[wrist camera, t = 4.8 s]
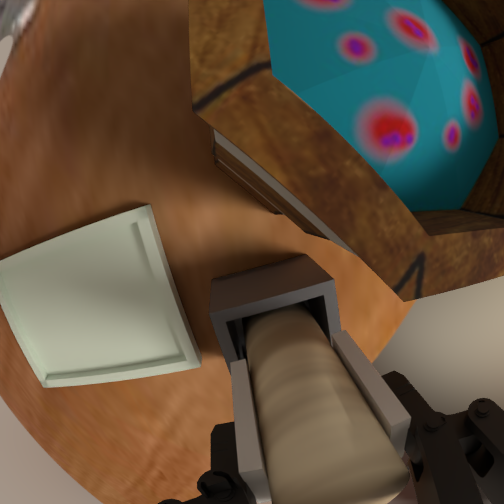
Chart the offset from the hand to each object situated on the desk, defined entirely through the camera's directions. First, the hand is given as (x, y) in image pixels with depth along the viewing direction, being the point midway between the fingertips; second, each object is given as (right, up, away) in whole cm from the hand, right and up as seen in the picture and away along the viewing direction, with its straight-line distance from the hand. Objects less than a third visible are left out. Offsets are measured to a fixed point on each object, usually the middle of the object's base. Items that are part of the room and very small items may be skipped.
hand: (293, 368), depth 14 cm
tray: (-15, +1, +6) cm, 16 cm away
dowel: (-1, +1, +6) cm, 6 cm away
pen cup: (-1, +2, +7) cm, 8 cm away
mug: (+2, +18, +4) cm, 18 cm away
